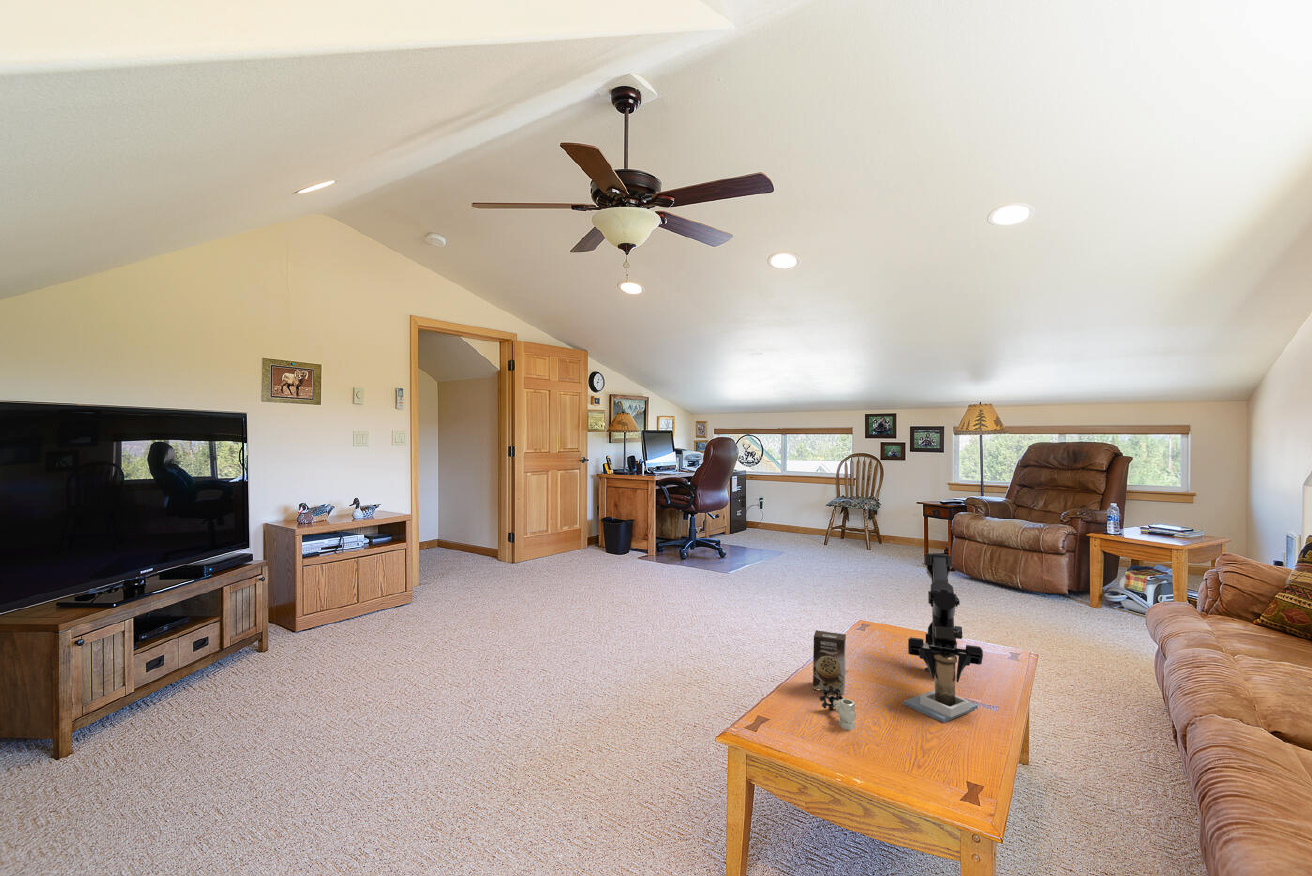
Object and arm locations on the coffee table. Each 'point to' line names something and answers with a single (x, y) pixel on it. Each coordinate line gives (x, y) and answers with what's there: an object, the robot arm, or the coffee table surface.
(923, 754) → the coffee table surface
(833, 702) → the valve
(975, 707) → the collar plate
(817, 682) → the cookie box
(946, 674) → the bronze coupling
